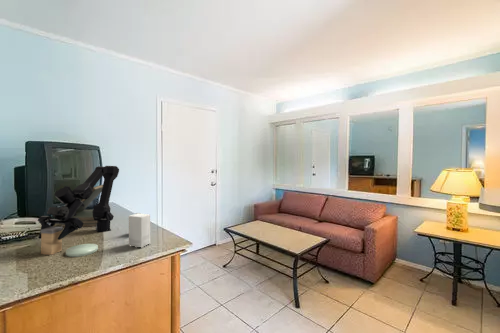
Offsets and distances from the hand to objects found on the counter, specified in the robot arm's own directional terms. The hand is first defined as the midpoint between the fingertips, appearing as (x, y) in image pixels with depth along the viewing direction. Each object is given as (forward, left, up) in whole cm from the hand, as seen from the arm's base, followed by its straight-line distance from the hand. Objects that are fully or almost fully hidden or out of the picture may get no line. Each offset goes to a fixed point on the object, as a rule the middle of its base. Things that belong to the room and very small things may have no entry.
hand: (48, 238), depth 103 cm
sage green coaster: (-11, +7, -7) cm, 15 cm away
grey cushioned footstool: (-1, -1, -7) cm, 7 cm away
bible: (-25, -49, -7) cm, 55 cm away
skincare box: (-33, +16, -7) cm, 37 cm away
